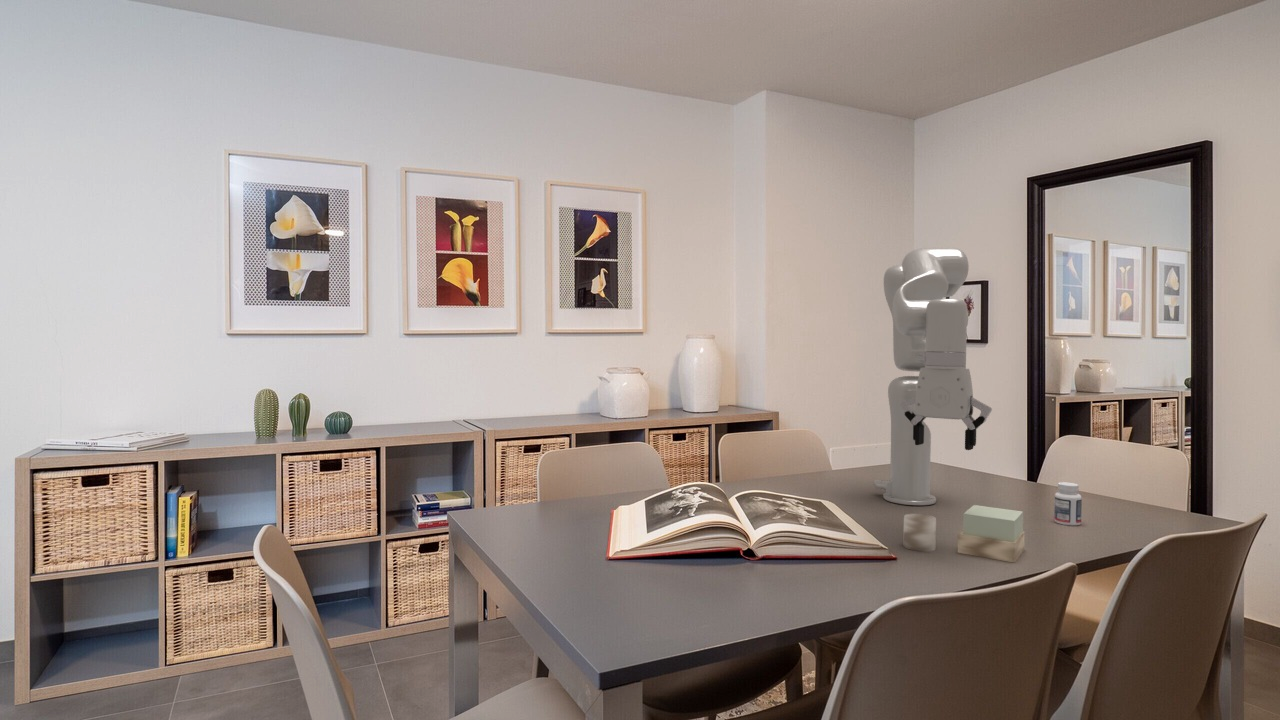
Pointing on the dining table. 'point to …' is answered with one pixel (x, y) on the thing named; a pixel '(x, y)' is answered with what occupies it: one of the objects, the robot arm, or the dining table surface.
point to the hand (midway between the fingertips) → (943, 446)
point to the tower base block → (991, 547)
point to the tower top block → (993, 523)
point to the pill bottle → (1068, 504)
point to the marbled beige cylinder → (919, 532)
